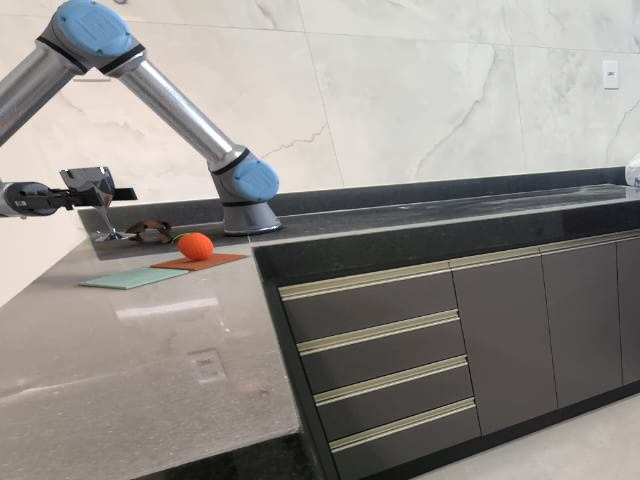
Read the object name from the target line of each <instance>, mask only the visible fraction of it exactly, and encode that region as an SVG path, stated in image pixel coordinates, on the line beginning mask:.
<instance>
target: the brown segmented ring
mask: <svg viewBox="0 0 640 480" xmlns="http://www.w3.org/2000/svg"><path fill="white" fill-rule="evenodd" d="M148 228H149V229H153V230H157V231H158V232H159V234H160V235H159V236H158V237H157V239H158V240H159V241H160V242H161V243H162V244H166V243H169V242H171V241H174V238H173V237H172V235H171V233H172V232H173V231H172V230H173V227H172V224H171V222H169V221H168V220H166V219H163V218H162V219H158V220H156V221H153V220H149V219H148V218H147V217H145V218H142V219H141V220H139V221H137V222H136V223H134V224H133V225H131V226H130V227H129V228H127V229H126V230H125V232H124V234H136V236H133V237H130V238H127V239H128V241H129V242H137V243H138V244H142V243H144V241H145V239H144V238H143V237H141V235H140V234H141V233H146V232H147V230H146V229H148Z"/></svg>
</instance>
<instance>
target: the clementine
mask: <svg viewBox="0 0 640 480" xmlns="http://www.w3.org/2000/svg"><path fill="white" fill-rule="evenodd" d="M178 237H179V239H178V240H177V248H178V250H179V252H180V254H182V255H183V256H184V257H187V258H189V259H192V260H204V259H206V258H208V257H209V256H210V255H211V254H212V253H213V252H214V244H213V242H212V241H211V239H210V238H209V237H208V236H206V235H205V234H203V233H200V232H192V231H189V232H187V233H181V234H179V235H177V236H176V237H174V238H173V240H171V243H173V242H174V240H175V239H177V238H178Z"/></svg>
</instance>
